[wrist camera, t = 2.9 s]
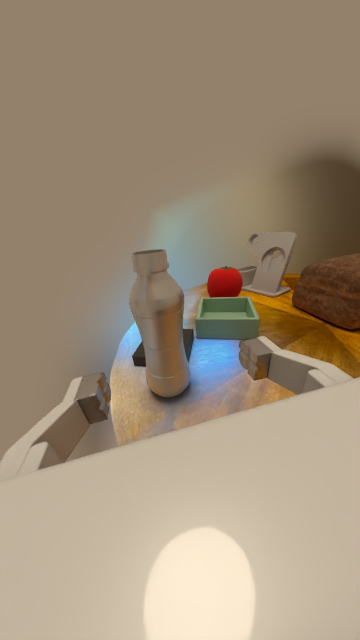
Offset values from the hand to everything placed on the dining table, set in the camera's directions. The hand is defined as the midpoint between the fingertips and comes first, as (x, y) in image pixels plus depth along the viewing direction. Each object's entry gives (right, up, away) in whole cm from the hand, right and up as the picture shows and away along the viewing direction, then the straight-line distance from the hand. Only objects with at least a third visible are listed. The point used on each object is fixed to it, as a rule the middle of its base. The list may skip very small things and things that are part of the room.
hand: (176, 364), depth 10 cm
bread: (+46, +6, +34) cm, 58 cm away
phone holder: (+29, +14, +53) cm, 62 cm away
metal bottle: (-1, -8, +18) cm, 19 cm away
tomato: (+14, +9, +47) cm, 50 cm away
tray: (+11, +2, +33) cm, 35 cm away
